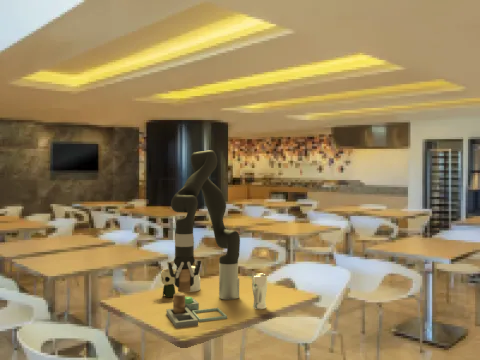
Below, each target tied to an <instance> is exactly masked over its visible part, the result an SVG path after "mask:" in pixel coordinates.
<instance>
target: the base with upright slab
mask: <svg viewBox="0 0 480 360" xmlns="http://www.w3.org/2000/svg"><path fill="white" fill-rule="evenodd" d="M195 266H196V265H192V266H191V267H192V270H193V272H194V271H195ZM200 290H201V277H200V273H199V274H198V275H196V276H194V284H193V285H192V286H190V291H189V292H188V293H191V292H192V293H193V292H199V291H200Z"/></svg>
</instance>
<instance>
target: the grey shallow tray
mask: <svg viewBox="0 0 480 360" xmlns="http://www.w3.org/2000/svg"><path fill="white" fill-rule="evenodd" d="M165 312H166V314H165V315H166V316H167V317H168V318H169V320H170V321H171V322H172V324H173V326H174V327H175V329H176V328H185V327H193V326H199V321H198V319H197V318H196V317H195V316H194V315H193V313H192V311H190V310H189V309H188V308H187V307H185V313H180V314H173V308H167V309H166V311H165Z"/></svg>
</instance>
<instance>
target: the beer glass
mask: <svg viewBox="0 0 480 360" xmlns="http://www.w3.org/2000/svg"><path fill="white" fill-rule="evenodd" d="M251 280H252V281H251V287H252V294H253V304H252V308H253V309H255V310H265V309H266V308H267V303H266V299H267V298H266V297H267V291H268V274H266V273H260V272H259V273H253V274H252V278H251Z"/></svg>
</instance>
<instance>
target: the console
mask: <svg viewBox="0 0 480 360" xmlns="http://www.w3.org/2000/svg"><path fill="white" fill-rule="evenodd" d="M192 298H193V297H192ZM199 306H200V303H199V302H198V300H196V299H195V298H193V303H187V304H185V307H187V308H188V309H189V310H190V311H191V312H192V311H193V310H200V307H199Z"/></svg>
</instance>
